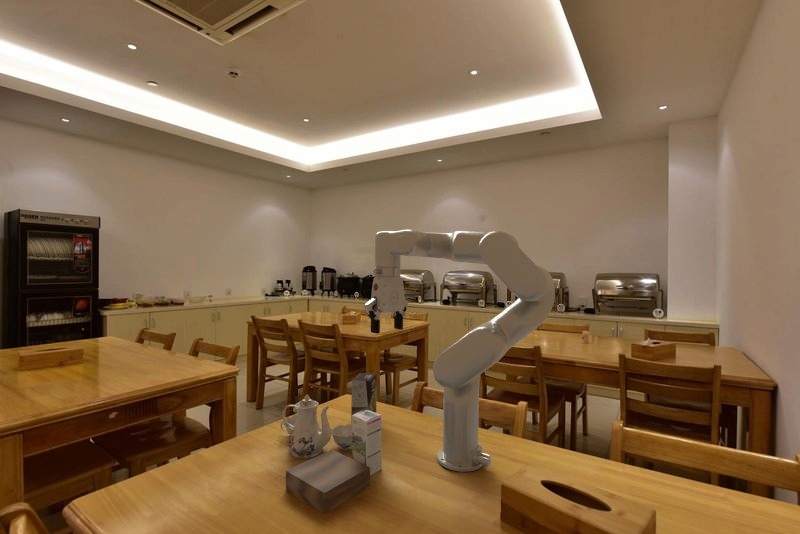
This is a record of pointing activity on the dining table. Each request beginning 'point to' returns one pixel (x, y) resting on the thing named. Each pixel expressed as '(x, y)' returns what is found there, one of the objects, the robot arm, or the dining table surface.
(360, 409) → the coffee box
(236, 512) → the dining table surface
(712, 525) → the dining table surface
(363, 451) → the syrup box
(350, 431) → the chinaware
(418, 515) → the dining table surface
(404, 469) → the dining table surface
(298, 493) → the walnut block
